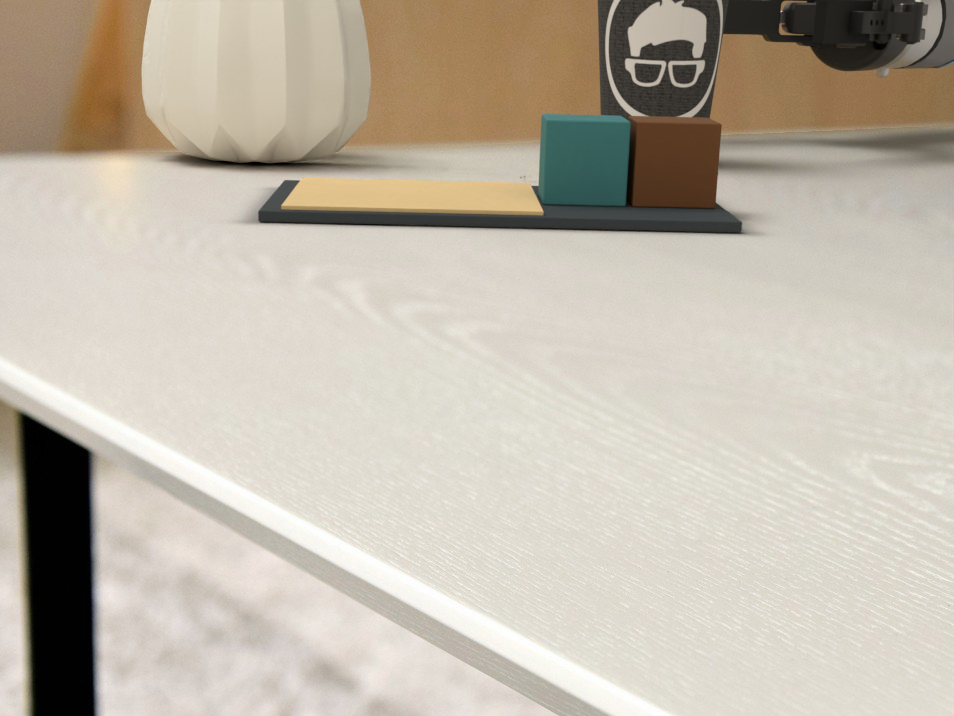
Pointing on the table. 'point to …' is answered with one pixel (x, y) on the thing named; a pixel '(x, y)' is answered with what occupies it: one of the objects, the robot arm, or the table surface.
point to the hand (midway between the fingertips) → (726, 18)
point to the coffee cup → (659, 56)
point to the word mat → (547, 184)
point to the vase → (256, 77)
